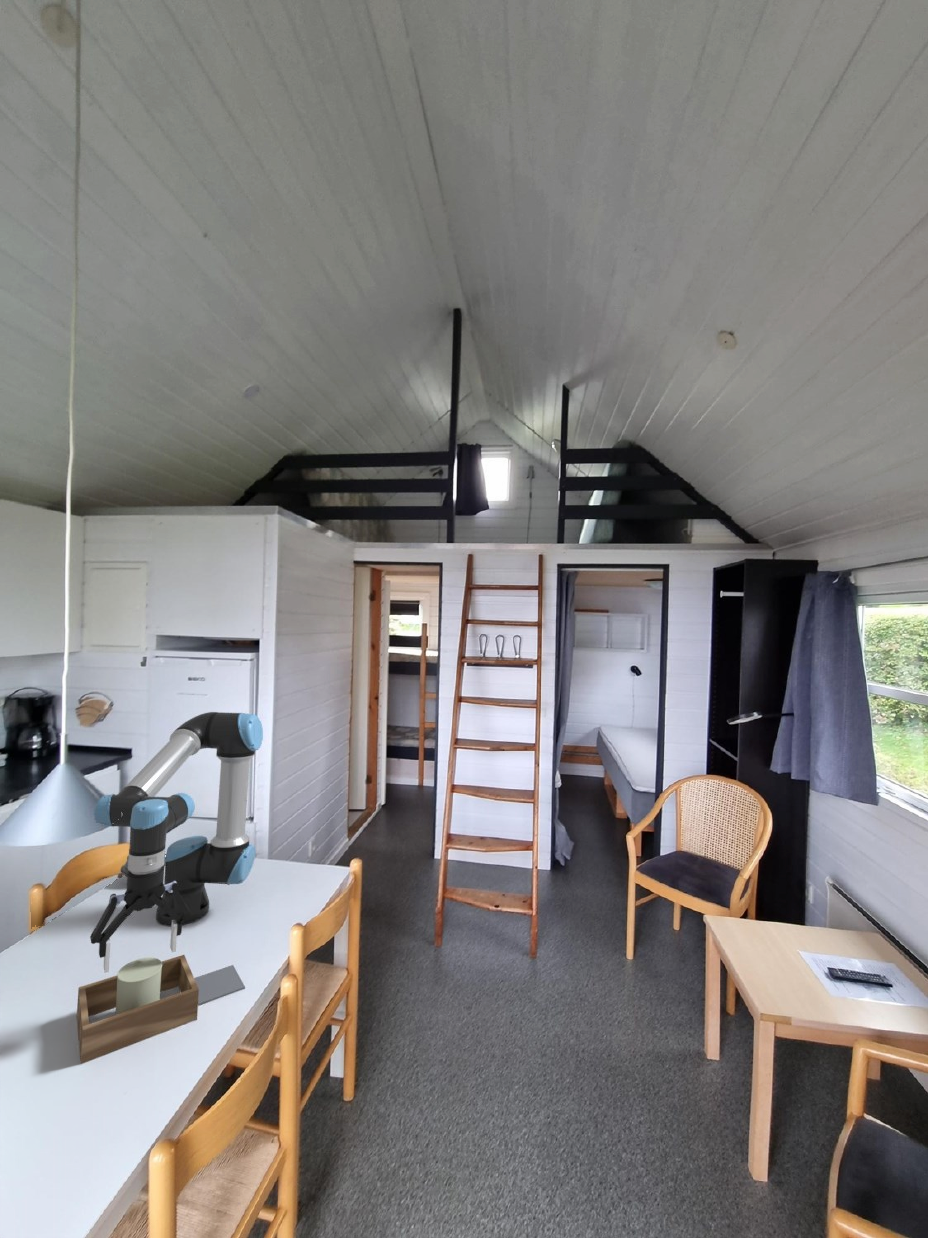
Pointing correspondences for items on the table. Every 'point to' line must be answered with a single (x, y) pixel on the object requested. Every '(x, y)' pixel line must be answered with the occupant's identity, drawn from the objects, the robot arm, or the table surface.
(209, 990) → the mat
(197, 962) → the table surface
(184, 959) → the crate
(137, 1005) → the can
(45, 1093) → the table surface
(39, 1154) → the table surface
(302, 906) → the table surface
